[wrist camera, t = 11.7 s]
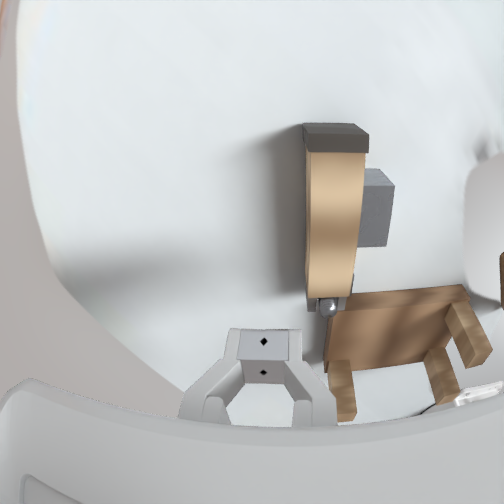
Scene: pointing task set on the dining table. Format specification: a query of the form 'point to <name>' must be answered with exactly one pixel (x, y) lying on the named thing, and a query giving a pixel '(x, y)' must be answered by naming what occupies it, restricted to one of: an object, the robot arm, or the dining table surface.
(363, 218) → the block
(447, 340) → the stool seat
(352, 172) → the hinged leg
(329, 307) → the hinge bracket
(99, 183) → the dining table surface
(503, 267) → the candle holder
